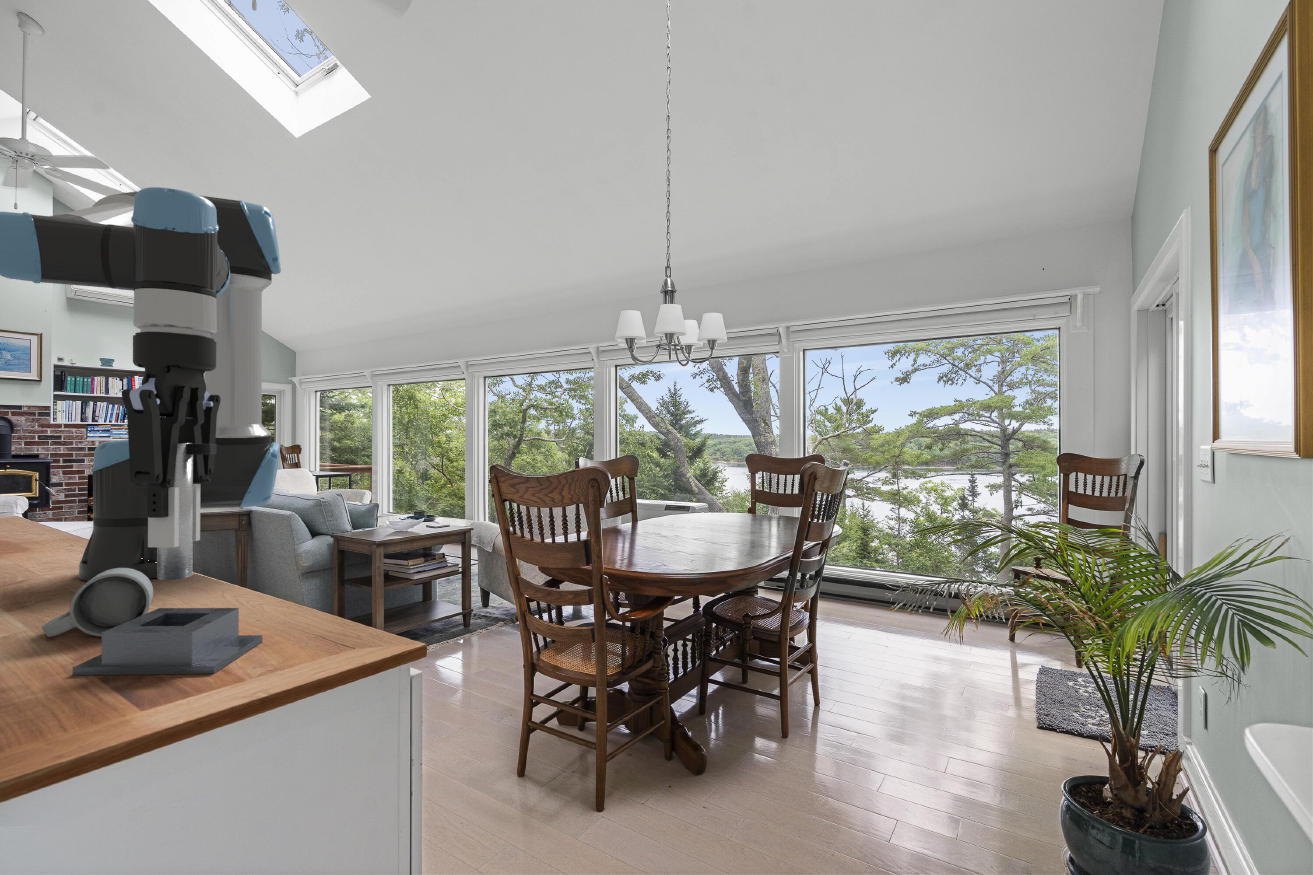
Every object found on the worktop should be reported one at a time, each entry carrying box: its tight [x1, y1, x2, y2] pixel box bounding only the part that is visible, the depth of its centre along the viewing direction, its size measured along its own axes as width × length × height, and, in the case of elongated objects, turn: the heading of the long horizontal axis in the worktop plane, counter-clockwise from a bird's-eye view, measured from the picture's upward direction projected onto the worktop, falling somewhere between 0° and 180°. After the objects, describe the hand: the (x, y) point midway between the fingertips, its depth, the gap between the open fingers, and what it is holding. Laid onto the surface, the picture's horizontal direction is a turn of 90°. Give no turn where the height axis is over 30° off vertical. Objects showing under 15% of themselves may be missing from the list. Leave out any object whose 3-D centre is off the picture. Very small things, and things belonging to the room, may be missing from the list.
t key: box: [157, 443, 216, 581], centre depth 73 cm, size 8×3×15 cm, turn 95°
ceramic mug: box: [41, 568, 154, 638], centre depth 82 cm, size 11×8×8 cm
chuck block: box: [71, 607, 263, 676], centre depth 74 cm, size 10×14×4 cm
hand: (174, 542), depth 73 cm, fingers closed on t key, 3 cm apart
